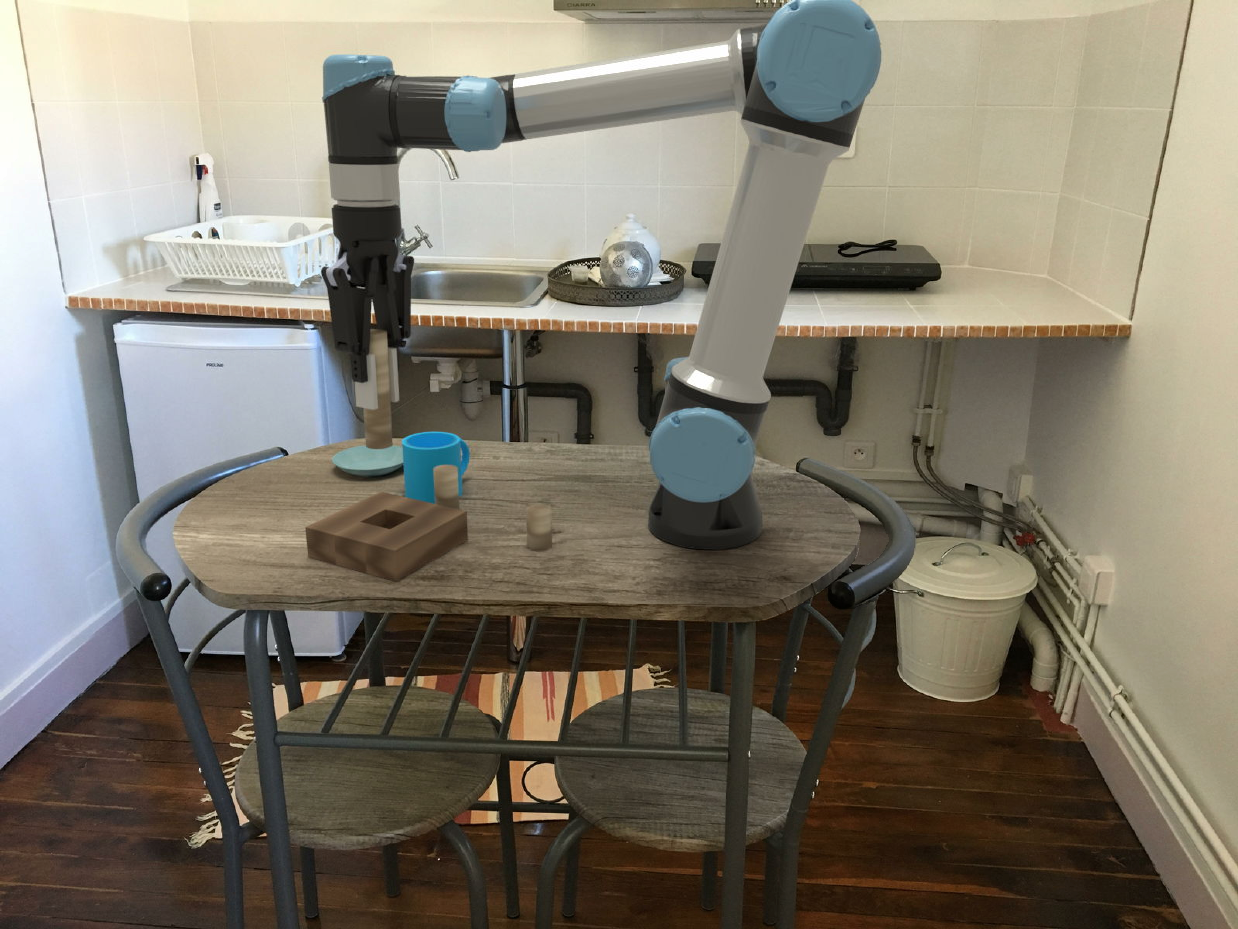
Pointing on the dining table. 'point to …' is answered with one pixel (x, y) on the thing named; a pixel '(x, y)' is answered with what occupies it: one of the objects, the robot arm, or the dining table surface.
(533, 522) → the dowel short
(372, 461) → the saucer
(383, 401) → the dowel long
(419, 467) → the mug
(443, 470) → the dowel mid
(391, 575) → the collar block
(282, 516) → the dining table surface
